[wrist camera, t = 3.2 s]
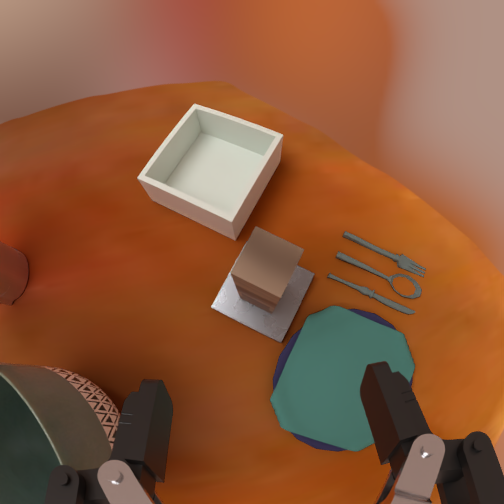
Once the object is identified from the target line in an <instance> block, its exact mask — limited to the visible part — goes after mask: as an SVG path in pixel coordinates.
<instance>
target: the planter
mask: <svg viewBox="0 0 504 504" xmlns="http://www.w3.org/2000/svg"><path fill="white" fill-rule="evenodd" d="M120 416H121V415H120V413H119V411H118V409H117V408H116V406H115V405H114V403H113V402H112V400H111V399H110V398H109V397H108V396H107V395H106V393H105V392H104V391H103V390H102V389H100V388H99V387H98V386H97V385H95V384H94V383H93V382H91V381H90V380H88V379H86V378H85V377H83V376H81V375H79V374H76V373H74V372H71V371H68V370H65V369H62V368H56V367H50V366H37V365H24V364H11V363H3V362H0V504H44V503H45V497H46V492H47V487H48V482H49V477H50V474H51V472H52V470H53V469H54V468H55V467H57V466H59V465H68V466H70V467H72V468H73V469H75V470H76V471H77V470H87V469H95V468H99V467H101V466H102V464H104V463H105V462H107V461H108V460H109V458H110V456H111V452H112V448H113V444H114V440H115V435H116V431H117V427H118V424H119V419H120Z"/></svg>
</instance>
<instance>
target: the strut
mask: <svg viewBox="0 0 504 504" xmlns="http://www.w3.org/2000/svg"><path fill="white" fill-rule="evenodd" d="M303 251H304V249H302V248H300V247H298V246H296V245H294V244H292V243H290V242H288V241H286V240H284V239H282V238H280V237H278V236H275V235H273V234H271V233H269V232H267V231H265V230H263V229H261V228H259V227H257V226H256V227H255V228H254V230H253V232H252V234H251V236H250V238H249V239H248V241H247V243H246V245H245V247H244V249H243V251H242V252H241V254H240V256H239V258H238V260H237V262H236V263H235V265H234V267H233V269H232V271H231V276H232V278H233V281H234V284H235V286H236V289H237V292H238V294H239V297H240V298H241V299H243V300H245V301H247V302H249V303H251V304H252V305H254V306H256V307H258V308H260V309H262V310H264V311H266V312H268V313H270V314H272V312H273V311H274V309H275V307H276V305H277V304H278V302H279V300H280V298H281V296H282V294H283V292H284V290H285V288H286V286H287V284H288V282H289V280H290V278H291V276H292V274H293V272H294V270H295V268H296V266H297V264H298V262H299V260H300V258H301V255H302V253H303Z"/></svg>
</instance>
